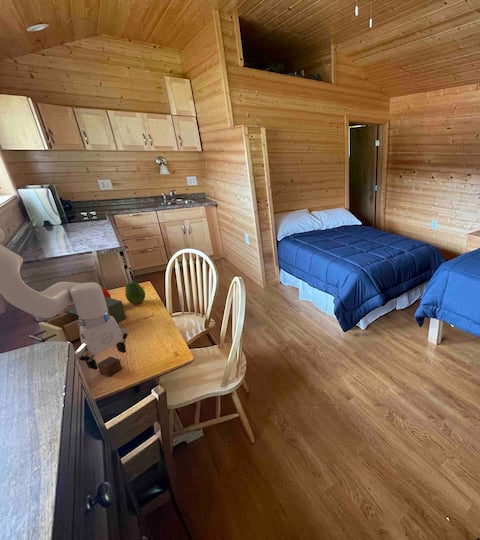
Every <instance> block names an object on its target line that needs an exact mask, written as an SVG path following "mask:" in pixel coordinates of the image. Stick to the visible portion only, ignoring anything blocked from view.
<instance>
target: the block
mask: <svg viewBox="0 0 480 540" xmlns="http://www.w3.org/2000/svg"><path fill="white" fill-rule="evenodd" d="M96 364H97V367H98V371H99V374H100V375H101V376H105V377H108V378H110V377H112V376H114V375H115V374H117V373H118V372H120V371H122V370H123V366H122V364H121V360H120V358H116V357H113V356H111V355H110V356H108V357H106V358H105V359H103V360H101V361H99V362H98V363H96Z"/></svg>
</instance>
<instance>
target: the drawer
mask: <svg viewBox="0 0 480 540" xmlns="http://www.w3.org/2000/svg"><path fill="white" fill-rule="evenodd" d="M78 322H79V317H78V315H74V314H71V313H63V314H62V315H58V316H55V317H54V318H52V319H49V320H47V322H45V321H39V322H38V326H39V328H40V331H39V332H37V333H35V334H29V335H28V339H31V340H33V341H36V342H39V343H42V342H43V343H45V342H46V341H49V342H51V341H67V342H73V341H75V340H77V339H80V327H77V326H76V323H78ZM39 335H43V337H41V336H39Z"/></svg>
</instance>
